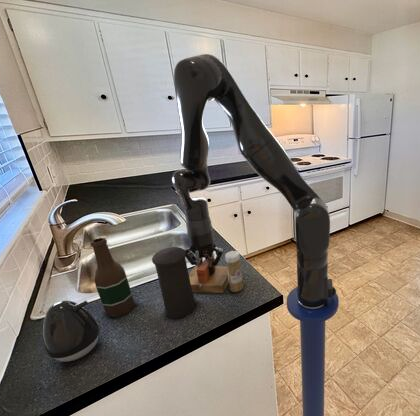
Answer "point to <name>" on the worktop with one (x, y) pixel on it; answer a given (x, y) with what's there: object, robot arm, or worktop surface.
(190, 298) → the container
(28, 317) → the worktop surface
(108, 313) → the beer bottle
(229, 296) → the worktop surface
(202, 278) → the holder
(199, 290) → the holder base
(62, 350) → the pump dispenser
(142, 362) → the worktop surface
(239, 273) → the sprinkles bottle
